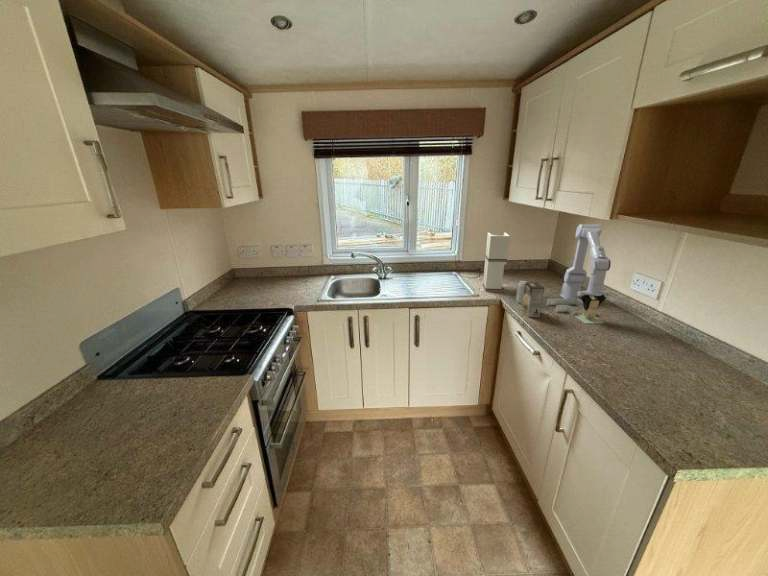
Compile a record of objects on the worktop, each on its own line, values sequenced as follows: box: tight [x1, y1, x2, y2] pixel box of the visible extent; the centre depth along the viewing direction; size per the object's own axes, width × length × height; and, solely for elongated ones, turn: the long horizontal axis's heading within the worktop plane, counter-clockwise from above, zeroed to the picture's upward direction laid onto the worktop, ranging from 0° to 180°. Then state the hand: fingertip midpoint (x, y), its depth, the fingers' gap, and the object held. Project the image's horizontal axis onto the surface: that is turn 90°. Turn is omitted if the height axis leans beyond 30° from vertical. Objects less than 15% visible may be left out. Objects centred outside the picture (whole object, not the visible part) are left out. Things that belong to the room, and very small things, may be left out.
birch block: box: [581, 297, 599, 318], centre depth 149 cm, size 4×4×9 cm
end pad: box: [573, 314, 605, 325], centre depth 150 cm, size 9×9×1 cm
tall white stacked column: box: [482, 232, 511, 293], centre depth 188 cm, size 11×11×35 cm
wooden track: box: [546, 297, 584, 316], centre depth 161 cm, size 15×16×4 cm
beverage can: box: [515, 280, 528, 304], centre depth 171 cm, size 6×6×12 cm
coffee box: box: [521, 281, 545, 318], centre depth 156 cm, size 9×6×16 cm
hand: (590, 309), depth 149 cm, fingers open, 4 cm apart
